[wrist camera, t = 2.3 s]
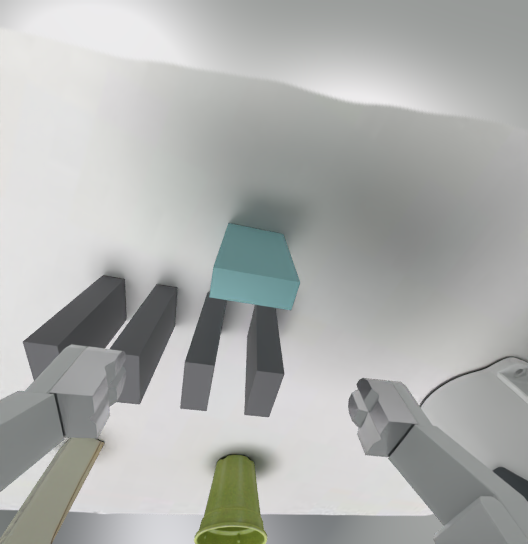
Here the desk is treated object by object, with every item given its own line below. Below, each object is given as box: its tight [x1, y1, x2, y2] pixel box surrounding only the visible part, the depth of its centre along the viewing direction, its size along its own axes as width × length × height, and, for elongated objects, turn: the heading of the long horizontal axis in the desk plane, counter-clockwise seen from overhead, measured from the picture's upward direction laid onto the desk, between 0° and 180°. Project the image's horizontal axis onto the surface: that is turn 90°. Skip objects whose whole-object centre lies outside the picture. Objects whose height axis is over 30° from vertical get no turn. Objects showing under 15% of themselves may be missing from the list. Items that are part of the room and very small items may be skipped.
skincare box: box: [0, 438, 104, 544], centre depth 30 cm, size 6×4×12 cm
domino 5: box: [244, 305, 284, 417], centre depth 22 cm, size 2×5×9 cm, turn 168°
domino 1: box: [23, 276, 126, 381], centre depth 20 cm, size 2×5×9 cm, turn 168°
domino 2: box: [110, 284, 177, 404], centre depth 21 cm, size 2×5×9 cm, turn 168°
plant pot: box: [194, 455, 267, 544], centre depth 35 cm, size 9×9×9 cm
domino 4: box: [209, 223, 300, 310], centre depth 18 cm, size 2×5×9 cm, turn 78°
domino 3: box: [180, 293, 227, 411], centre depth 22 cm, size 2×5×9 cm, turn 167°
